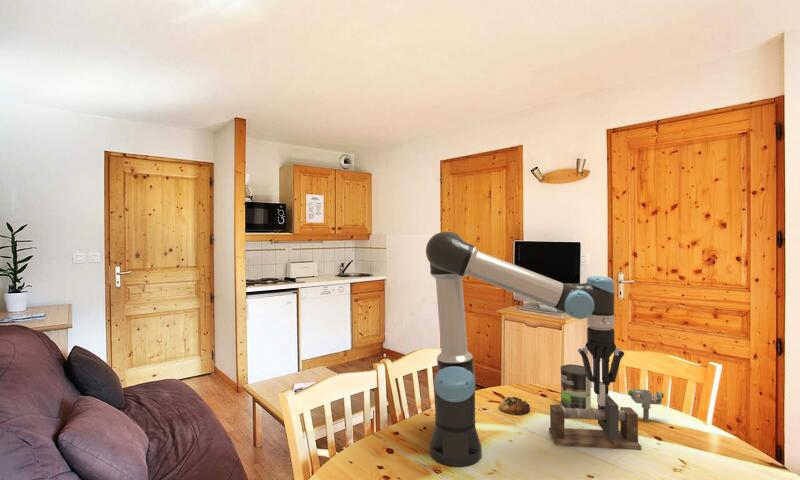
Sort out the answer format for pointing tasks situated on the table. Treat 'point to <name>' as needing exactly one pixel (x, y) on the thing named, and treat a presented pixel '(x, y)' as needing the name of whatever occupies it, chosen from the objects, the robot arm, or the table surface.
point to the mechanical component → (646, 400)
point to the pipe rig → (592, 436)
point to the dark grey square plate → (610, 418)
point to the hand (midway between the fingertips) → (601, 404)
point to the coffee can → (575, 387)
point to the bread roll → (514, 406)
